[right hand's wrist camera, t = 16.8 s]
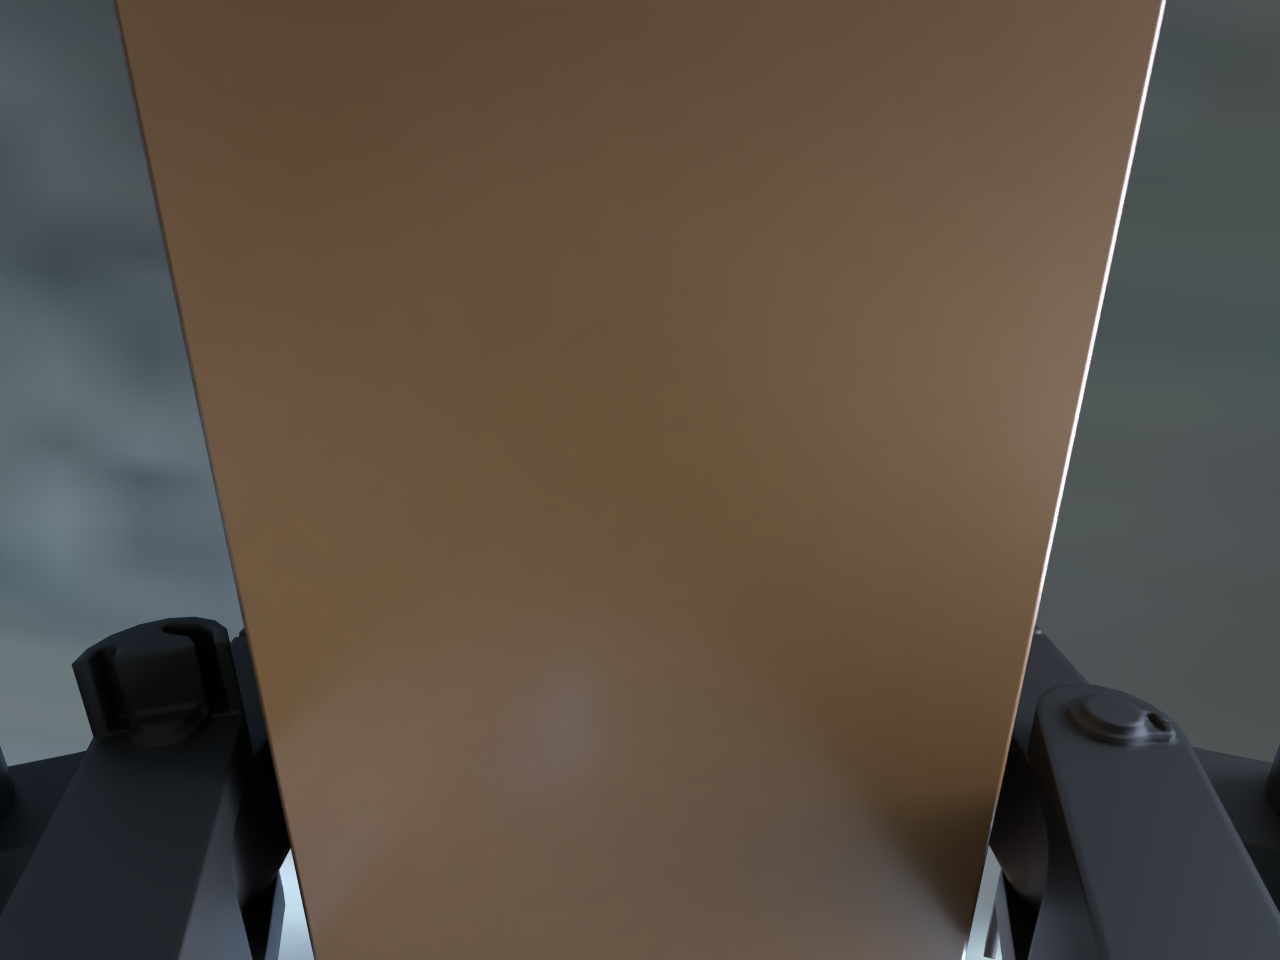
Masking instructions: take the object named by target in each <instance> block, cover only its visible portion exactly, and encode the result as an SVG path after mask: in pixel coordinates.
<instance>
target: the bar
mask: <svg viewBox="0 0 1280 960" xmlns="http://www.w3.org/2000/svg"><path fill="white" fill-rule="evenodd" d="M112 2H113V7H114V12H115V16H116V21H117V26H118V31H119V35H120V40H121V45H122V50H123V54H124V59H125V64H126V69H127V73H128V78H129V83H130V88H131V92H132V97H133V102H134V106H135V111H136V116H137V121H138V125H139V130H140V135H141V140H142V144H143V149H144V154H145V159H146V163H147V168H148V173H149V178H150V182H151V187H152V192H153V197H154V201H155V206H156V211H157V216H158V220H159V225H160V230H161V235H162V239H163V244H164V249H165V254H166V258H167V263H168V268H169V272H170V277H171V282H172V287H173V291H174V296H175V301H176V306H177V310H178V315H179V320H180V325H181V329H182V334H183V339H184V344H185V348H186V353H187V358H188V363H189V367H190V372H191V377H192V382H193V386H194V391H195V396H196V401H197V405H198V410H199V415H200V420H201V424H202V429H203V434H204V438H205V443H206V448H207V453H208V457H209V462H210V467H211V472H212V476H213V481H214V486H215V491H216V495H217V500H218V505H219V510H220V514H221V519H222V524H223V529H224V533H225V538H226V543H227V548H228V552H229V557H230V562H231V567H232V571H233V576H234V581H235V586H236V590H237V595H238V600H239V604H240V609H241V614H242V619H243V623H244V628H245V633H246V638H247V642H248V647H249V652H250V657H251V661H252V666H253V671H254V676H255V680H256V685H257V690H258V695H259V699H260V704H261V709H262V714H263V718H264V723H265V728H266V733H267V737H268V742H269V747H270V752H271V756H272V761H273V766H274V771H275V775H276V780H277V785H278V789H279V794H280V799H281V804H282V808H283V813H284V818H285V823H286V827H287V832H288V837H289V842H290V846H291V851H292V856H293V861H294V865H295V870H296V875H297V880H298V884H299V889H300V894H301V899H302V903H303V908H304V913H305V918H306V922H307V927H308V932H309V937H310V941H311V946H312V951H313V955H314V960H965V955H966V950H967V946H968V941H969V936H970V931H971V927H972V922H973V917H974V912H975V908H976V903H977V898H978V893H979V889H980V884H981V879H982V874H983V870H984V865H985V860H986V855H987V851H988V846H989V841H990V836H991V832H992V827H993V822H994V817H995V812H996V808H997V803H998V798H999V793H1000V789H1001V784H1002V779H1003V774H1004V770H1005V765H1006V760H1007V755H1008V751H1009V746H1010V741H1011V736H1012V732H1013V727H1014V722H1015V717H1016V713H1017V708H1018V703H1019V698H1020V694H1021V689H1022V684H1023V679H1024V675H1025V670H1026V665H1027V660H1028V656H1029V651H1030V646H1031V641H1032V637H1033V632H1034V627H1035V622H1036V618H1037V613H1038V608H1039V603H1040V599H1041V594H1042V589H1043V584H1044V580H1045V575H1046V570H1047V565H1048V561H1049V556H1050V551H1051V546H1052V541H1053V537H1054V532H1055V527H1056V522H1057V518H1058V513H1059V508H1060V503H1061V499H1062V494H1063V489H1064V484H1065V480H1066V475H1067V470H1068V465H1069V461H1070V456H1071V451H1072V446H1073V442H1074V437H1075V432H1076V427H1077V423H1078V418H1079V413H1080V408H1081V404H1082V399H1083V394H1084V389H1085V385H1086V380H1087V375H1088V370H1089V366H1090V361H1091V356H1092V351H1093V347H1094V342H1095V337H1096V332H1097V328H1098V323H1099V318H1100V313H1101V309H1102V304H1103V299H1104V294H1105V290H1106V285H1107V280H1108V275H1109V270H1110V266H1111V261H1112V256H1113V251H1114V247H1115V242H1116V237H1117V232H1118V228H1119V223H1120V218H1121V213H1122V209H1123V204H1124V199H1125V194H1126V190H1127V185H1128V180H1129V175H1130V171H1131V166H1132V161H1133V156H1134V152H1135V147H1136V142H1137V137H1138V133H1139V128H1140V123H1141V118H1142V114H1143V109H1144V104H1145V99H1146V95H1147V90H1148V85H1149V80H1150V76H1151V71H1152V66H1153V61H1154V57H1155V52H1156V47H1157V42H1158V38H1159V33H1160V28H1161V23H1162V19H1163V14H1164V9H1165V4H1166V0H112Z"/></svg>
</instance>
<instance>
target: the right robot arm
mask: <svg viewBox="0 0 1280 960" xmlns="http://www.w3.org/2000/svg"><path fill="white" fill-rule="evenodd" d="M72 667H73V671H74V674H75V677H76V680H77V684H78V687H79V690H80V694H81V697H82V700H83V704H84V707H85V710H86V713H87V717H88V720H89V723H90V727H91V730H92V733H93V739H92V741H91V743H90V745H89V747H88V749H87V751H83V752H79V753H75V754H70V755H65V756H59V757H54V758H49V759H44V760H39V761H34V762H29V763H24V764H19V765H14V766H9V767H7V764H6V761H5V758H4V756H3V753H2V750H1V747H0V960H278V955H279V947H280V940H281V932H282V925H283V917H284V910H285V900H284V892H283V886H282V881H281V877H280V872H279V869H280V867H281V865H282V864H283V862H284V860H285V858H286V856H287V854H288V852H289V850H290V848H291V846H290V842H289V837H288V832H287V827H286V823H285V818H284V813H283V808H282V804H281V799H280V794H279V789H278V785H277V780H276V775H275V771H274V766H273V761H272V756H271V752H270V747H269V742H268V737H267V733H266V728H265V723H264V718H263V714H262V709H261V704H260V699H259V695H258V690H257V685H256V680H255V676H254V671H253V666H252V661H251V657H250V652H249V647H248V642H247V638H246V633H245V628H243V629H242V630H241V631H240V633H239V637H235V638H234V639H233V640H232V642H231V643H230V641H229V636H228V631H227V629H226V628H225V627H223V626H222V625H221V624H219V623H218V622H217V621H215V620H209V619H204V618H198V617H183V618H167V619H163V620H158V621H154V622H149V623H144V624H140V625H137V626H134V627H132V628H129V629H126V630H124V631H121V632H118V633H116V634H113V635H110V636H109V637H107V638H105V639H104V640H102V641H100V642H98V643H97V644H95V645H93V646H91V647H90V648H88V649H87V650H86V651H85V652H84V653H83V654H82V655H81V656H80V657H79V658H78V659H77V660H76V661H75V662H74V663H73V664H72ZM989 845H990V847H991V849H992V851H993V853H994V855H995V857H996V858H997V860H998V862H999V864H1000V866H1001V872H1000V877H999V881H998V886H997V891H996V895H995V900H994V905H993V909H992V914H991V918H990V923H989V928H988V932H987V937H986V943H985V950H984V957H988V958H992V959H995V956H996V952H997V947H998V943H999V941H1000V945H1001V953H1002V960H1280V745H1279V748H1278V751H1277V753H1276V756H1275V759H1274V762H1273V763H1269V762H1264V761H1259V760H1254V759H1249V758H1244V757H1239V756H1234V755H1229V754H1224V753H1219V752H1214V751H1209V750H1204V749H1200V748H1196V747H1192V745H1191V743H1190V742H1189V740H1188V738H1187V736H1186V735H1185V734H1184V732H1183V731H1182V730H1181V729H1180V728H1179V726H1178V725H1177V724H1176V723H1175V722H1174V720H1173V719H1172V718H1170V717H1169V716H1167V715H1166V714H1164V713H1163V712H1161V711H1160V710H1158V709H1157V708H1155V707H1154V706H1153V705H1151V704H1149V703H1147V702H1145V701H1143V700H1140V699H1138V698H1136V697H1133V696H1131V695H1129V694H1127V693H1124V692H1121V691H1117V690H1113V689H1109V688H1105V687H1101V686H1097V685H1090V684H1089V683H1088V682H1087V681H1086V680H1085V678H1084V677H1083V676H1082V675H1081V674H1080V673H1079V672H1078V671H1077V670H1076V668H1075V667H1074V666H1073V665H1072V664H1071V663H1070V662H1069V661H1068V660H1067V658H1066V657H1065V656H1064V655H1063V654H1062V653H1061V652H1060V651H1059V650H1058V648H1057V647H1056V646H1055V645H1054V644H1053V643H1052V642H1051V641H1050V640H1049V638H1048V637H1047V636H1046V635H1045V634H1041V630H1040V628H1039V627H1038V626H1037V625H1036V624H1035V627H1034V632H1033V637H1032V641H1031V646H1030V651H1029V656H1028V660H1027V665H1026V670H1025V675H1024V679H1023V684H1022V689H1021V694H1020V698H1019V703H1018V708H1017V713H1016V717H1015V722H1014V727H1013V732H1012V736H1011V741H1010V746H1009V751H1008V755H1007V760H1006V765H1005V770H1004V774H1003V779H1002V784H1001V789H1000V793H999V798H998V803H997V808H996V812H995V817H994V822H993V827H992V832H991V836H990V841H989Z"/></svg>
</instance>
